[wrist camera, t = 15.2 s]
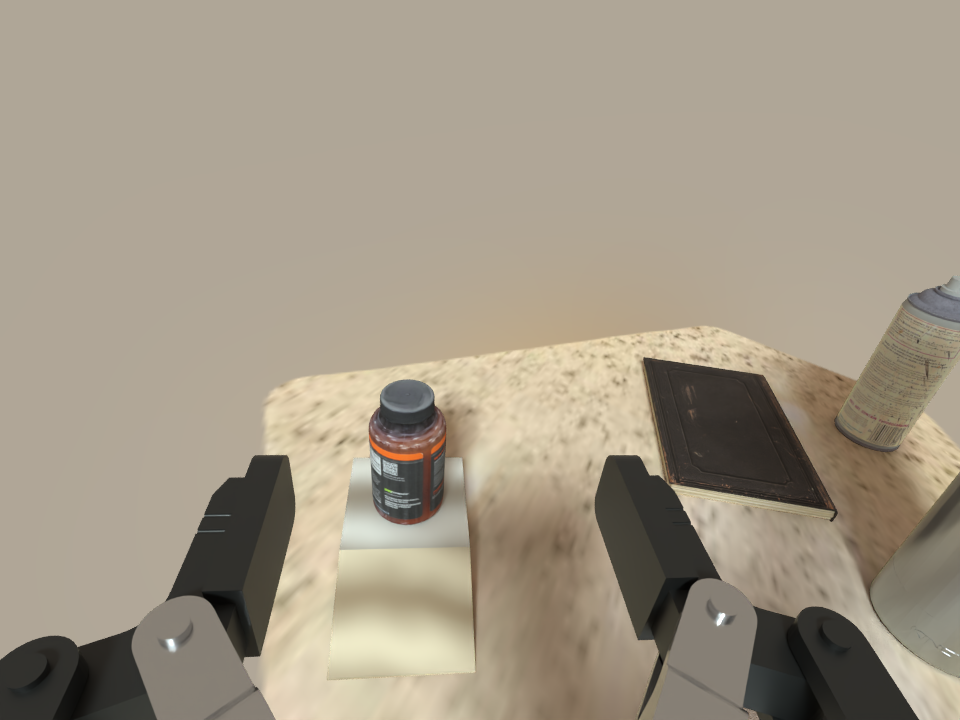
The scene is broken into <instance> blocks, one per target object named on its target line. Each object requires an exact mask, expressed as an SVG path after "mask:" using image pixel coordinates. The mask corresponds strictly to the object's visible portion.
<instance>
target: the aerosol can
mask: <svg viewBox="0 0 960 720" xmlns="http://www.w3.org/2000/svg"><path fill="white" fill-rule="evenodd" d="M959 359H960V276H953V277H952V278H951V279H950V281H949V282H948V283H947V284H943V285H942V286H937V287H936V288H931V289H927V290H924V291H923V292H921V293H912V294H910V295H909V296H908V298H907V299H906V300H905V301H904V302H903V303H902V305H901V306H900V308H899V310H898V312H897V313H896V315H895V317H894V318H893V320H892V322H891V324H890V325H889V327H888V329H887V331H886V332H885V334H884V336H883V337H882V339H881V341H880V342H879V344H878V346H877V348H876V349H875V351H874V353H873V355H872V356H871V358H870V360H869V361H868V363H867V365H866V367H865V368H864V370H863V372H862V374H861V376H860V377H859V379H858V380H857V382H856V384H855V386H854V387H853V389H852V391H851V393H850V394H849V396H848V398H847V399H846V401H845V403H844V405H843V406H842V408H841V410H840V412H839V413H838V415H837V417H836V418H835V425H836V427H837V428H838V430H839V431H840V432H841V433H842V434H843V435H844V436H846V437H847V438H849V439H850V440H852V441H853V442H855V443H857V444H859V445H862V446H864V447H867V448H870V449H873V450H877V451H883V452H888V451H894V450H896V449H898V448H899V446H900V444H901V443H902V442H903V440H904V439H905V437H906V436H907V434H908V433H909V432H910V430H911V429H912V427H913V426H914V424H915V423H916V421H917V420H918V419H919V417H920V416H921V414H922V413H923V411H924V410H925V408H926V407H927V405H928V404H929V403H930V401H931V400H932V398H933V397H934V395H935V394H936V392H937V391H938V390H939V388H940V387H941V385H942V384H943V382H944V381H945V379H946V378H947V376H948V375H949V374H950V372H951V371H952V369H953V368H954V366H955V365H956V363H957V362H958V360H959Z"/></svg>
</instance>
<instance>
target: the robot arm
mask: <svg viewBox="0 0 960 720" xmlns="http://www.w3.org/2000/svg"><path fill="white" fill-rule="evenodd" d="M595 514H596V519H597V522H598V525H599V528H600V531H601V534H602V536H603V539H604V542H605V545H606V548H607V551H608V554H609V557H610V560H611V563H612V566H613V569H614V571H615V574H616V577H617V580H618V583H619V586H620V589H621V592H622V595H623V598H624V601H625V604H626V606H627V609H628V612H629V615H630V618H631V621H632V624H633V627H634V630H635V633H636V636H637V638H638V640H653V639H654V640H655V642H656V645H657V648H658V650H659V652H658V654H657V657H656V659H655V662H654V665H653V668H652V671H651V674H650V677H649V680H648V683H647V686H646V689H645V692H644V695H643V698H642V701H641V704H640V707H639V709H638V712H637V715H636V718H635V720H749V715H748V712H747V711H745V710H744V709H743V707H744V708H748V709H751V710H754V711H756V712H757V714H758V717H759V719H760V720H919V719H918V718H917V716H916V714H915V713H914V711H913V710H912V708H911V707H910V705H909V704H908V702H907V701H906V699H905V697H904V696H903V694H902V693H901V691H900V690H899V688H898V687H897V685H896V684H895V682H894V681H893V679H892V677H891V676H890V674H889V673H888V671H887V670H886V668H885V667H884V665H883V664H882V662H881V661H880V659H879V657H878V656H877V654H876V653H875V651H874V650H873V648H872V647H871V645H870V644H869V642H868V641H867V639H866V638H865V636H864V635H863V634H862V632H861V631H860V630H859V629H858V628H857V627H856V626H855V625H854V624H853V623H852V622H850V621H849V620H848V619H846V618H845V617H843V616H842V615H840V614H838V613H836V612H834V611H832V610H829V609H827V608H823V607H808V608H805V609H804V610H802V611H801V612H800V614H799V615H798V616H797V618H793V617H789V616H786V615H782V614H778V613H775V612H771V611H767V610H764V609H760V608H757V607H755V606H753V605H752V604H751V603H750V601H749V600H748V599H747V598H746V596H745V595H744V594H743V593H742V592H740V591H739V590H738V589H737V588H735V587H734V586H732V585H730V584H729V583H726V582H724V581H722V580H721V578H720V576H719V574H718V573H717V571H716V569H715V567H714V565H713V563H712V561H711V559H710V557H709V555H708V554H707V552H706V550H705V548H704V546H703V544H702V542H701V540H700V538H699V536H698V535H697V533H696V531H695V529H694V527H693V525H691V521H690V519H689V517H688V516H687V514H686V512H685V511H683V506H682V504H681V502H680V500H679V498H678V496H677V495H676V493H675V491H674V490H673V489H672V488H671V487H670V486H669V485H668V484H667V483H666V482H665V481H664V480H663V479H662V478H661V477H660V476H659V475H655V476H649V474H648V472H647V470H646V468H645V466H644V464H643V461H642V460H641V458H640V457H639V456H637V455H610V456H608V457H607V459H606V461H605V465H604V468H603V472H602V475H601V478H600V482H599V485H598V489H597V492H596V496H595ZM204 515H205V516H204V518H202V521H201V523H200V525H199V527H198V533H197V534H195V537H194V539H193V542H192V544H191V546H190V549H189V551H188V553H187V555H186V558H185V560H184V562H183V564H182V567H181V569H180V572H179V574H178V576H177V578H176V581H175V583H174V585H173V588H172V590H171V592H170V594H169V596H168V598H167V599H166V601H165V602H164V603H162V604H160V605H159V606H157V607H156V608H154V609H153V610H152V611H151V612H149V613H148V614H147V615H146V616H145V617H144V619H143V620H142V621H141V622H140V624H139V625H138V626H136V627H134V628H132V629H130V630H128V631H126V632H123V633H121V634H117V635H114V636H111V637H108V638H105V639H102V640H99V641H95V642H92V643H89V644H86V645H83V646H80V647H77V646H76V644H75V643H74V642H73V641H72V640H70V639H69V638H66V637H62V636H48V637H42V638H38V639H35V640H32V641H30V642H27V643H25V644H24V645H21V646H20V647H18V648H16V649H15V650H13V651H12V652H10V653H9V654H7V655H6V656H5V657H4V658H2V659H1V660H0V720H275V718H274V716H273V714H272V712H271V710H270V708H269V706H268V704H267V702H266V701H265V699H264V697H263V695H262V694H261V692H260V690H259V689H258V688H257V687H255V686H254V684H253V683H252V681H251V679H250V677H249V676H248V673H247V671H246V670H245V668H244V666H243V660H244V657H256V656H260V655H261V651H262V647H263V643H264V639H265V635H266V631H267V627H268V623H269V619H270V615H271V611H272V607H273V603H274V599H275V595H276V591H277V587H278V583H279V579H280V576H281V572H282V568H283V564H284V560H285V556H286V552H287V548H288V544H289V540H290V536H291V532H292V528H293V523H294V517H295V495H294V488H293V482H292V475H291V469H290V463H289V458H288V456H287V455H257V456H256V455H255V456H254V457H253V458H252V460H251V463H250V465H249V468H248V470H247V473H246V476H245V478H229V479H228V480H227V481H226V482H225V483H224V484H223V485H222V486H221V487H220V488H219V489H218V490H217V491H216V492H215V493H214V494H213V495H212V497H211V500H210V502H209V505H208V507H207V509H206V511H205V514H204ZM870 596H871V601H872V603H873V606H874V609H875V611H876V612H877V614H878V616H879V617H880V619H881V621H882V622H883V623H884V625H885V626H886V627H887V628H888V630H889V631H890V632H891V633H892V634H893V635H894V636H895V637H896V638H897V639H898V640H899V641H900V642H901V643H902V644H903V645H904V646H905V647H907V648H908V649H909V650H910V651H912V652H913V653H914V654H915V655H917V656H918V657H920V658H921V659H923V660H924V661H926V662H927V663H929V664H930V665H932V666H934V667H936V668H938V669H940V670H942V671H944V672H946V673H948V674H951V675H953V676H956V677H959V678H960V472H959V474H958V475H957V476H956V477H955V479H954V480H953V481H952V482H951V484H950V485H949V486H948V487H947V489H946V490H945V491H944V492H943V494H942V495H941V496H940V497H939V499H938V500H937V501H936V502H935V504H934V505H933V506H932V507H931V509H930V510H929V511H928V512H927V514H926V515H925V516H924V517H923V519H922V520H921V521H920V522H919V524H918V525H917V526H916V527H915V529H914V530H913V531H912V532H911V534H910V535H909V536H908V537H907V539H906V540H905V541H904V542H903V544H902V545H901V546H900V547H899V548H898V550H897V551H896V552H895V553H894V554H893V556H892V557H891V558H890V559H889V561H888V562H887V563H886V565H885V566H884V567H883V568H882V570H881V571H880V572H879V573H878V575H877V576H876V577H875V579H874V580H873V581H872V583H871V587H870Z"/></svg>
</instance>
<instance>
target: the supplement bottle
mask: <svg viewBox="0 0 960 720" xmlns="http://www.w3.org/2000/svg"><path fill="white" fill-rule="evenodd" d="M369 443H370V460H371V477H372V495H373V502H374V506H375V508H376V510H377V512H378V513H379V514H380V515H381V516H382V517H383V518H384V519H386V520H388V521H390V522H392V523H395V524H400V525H413V524H418V523H421V522H423V521H425V520H427V519H429V518H431V517H432V516H433V515H434V514H435V513H436V512H437V511H438V509H439V508H440V506H441V504H442V500H443V493H444V470H445V446H446V422H445V418H444V416H443V414H442V412H441V411H440V410H439V409H438V408H437V407H436V406H435V404H434V392H433V390H432V389H431V388H430V387H429V386H428V385H427V384H425V383H423V382H420V381H416V380H399V381H396V382H393V383H391V384H389V385H387V386H386V387H385V388H384V389H383V390H382V392H381V395H380V407H379V408H378V409H377V410H376V411H375V412H374V414H373V415H372V417H371V419H370V422H369Z"/></svg>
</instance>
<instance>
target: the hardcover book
mask: <svg viewBox="0 0 960 720" xmlns="http://www.w3.org/2000/svg"><path fill="white" fill-rule="evenodd" d="M643 360H644V365H645V366H644V373H645V378H646V383H647V388H648V393H649V398H650V403H651V408H652V413H653V417H654V422H655V427H656V432H657V437H658V442H659V447H660V452H661V457H662V462H663V467H664V471H665V476H666V481H667V484H668V485H669V486H670V487H671V488H672V489H673V490H674V491H675V493H676V494H679V495H685V496H691V497H697V498H703V499H709V500H715V501H721V502H727V503H733V504H739V505H745V506H751V507H757V508H763V509H769V510H775V511H781V512H786V513H792V514H798V515H804V516H810V517H816V518H822V519H828V520H830V522H832V521H833V520H834V518H835V517H836V515H837V513H838V512H837V509H836V508H835V506H834V504H833V502H832V500H831V498H830V497H829V495H828V493H827V491H826V489H825V487H824V486H823V484H822V482H821V480H820V478H819V476H818V474H817V473H816V471H815V469H814V467H813V465H812V463H811V462H810V460H809V458H808V456H807V454H806V452H805V451H804V449H803V447H802V445H801V443H800V441H799V439H798V438H797V436H796V434H795V432H794V430H793V428H792V427H791V425H790V423H789V421H788V419H787V417H786V416H785V414H784V412H783V410H782V408H781V406H780V404H779V403H778V401H777V399H776V397H775V395H774V393H773V392H772V390H771V388H770V386H769V384H768V382H767V381H766V379H765V377H764V376H763V375H759V374H752V373H746V372H739V371H732V370H725V369H719V368H712V367H705V366H699V365H692V364H685V363H679V362H672V361H665V360H658V359H652V358H645V357H644V358H643Z"/></svg>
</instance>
